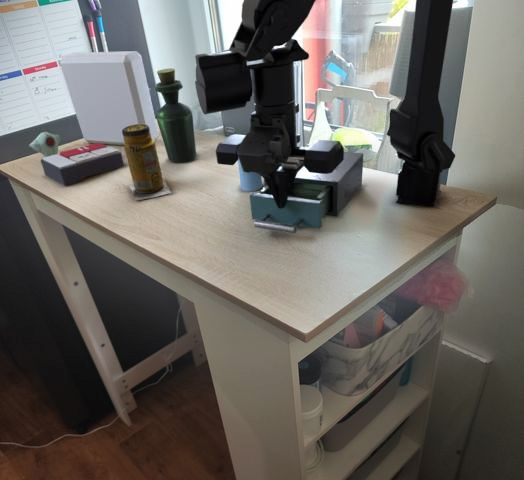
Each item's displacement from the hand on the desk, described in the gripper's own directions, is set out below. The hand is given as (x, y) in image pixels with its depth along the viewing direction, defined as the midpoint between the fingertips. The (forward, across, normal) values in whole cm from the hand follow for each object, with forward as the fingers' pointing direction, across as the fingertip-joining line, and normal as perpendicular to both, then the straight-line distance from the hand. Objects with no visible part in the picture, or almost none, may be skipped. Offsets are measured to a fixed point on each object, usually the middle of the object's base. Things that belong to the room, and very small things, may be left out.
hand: (281, 207), depth 76 cm
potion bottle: (+4, -38, +26) cm, 46 cm away
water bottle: (+4, -14, +15) cm, 21 cm away
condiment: (+4, -34, +8) cm, 35 cm away
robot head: (+4, -71, +18) cm, 73 cm away
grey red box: (+4, -57, +14) cm, 59 cm away
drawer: (+3, 0, +5) cm, 6 cm away
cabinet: (+4, 0, +14) cm, 15 cm away
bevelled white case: (+4, -62, +34) cm, 70 cm away
